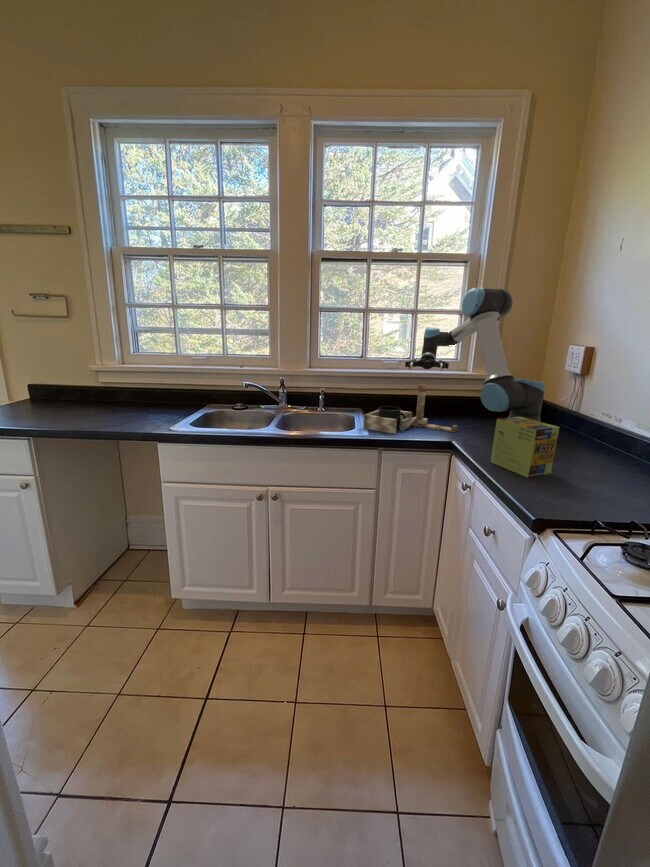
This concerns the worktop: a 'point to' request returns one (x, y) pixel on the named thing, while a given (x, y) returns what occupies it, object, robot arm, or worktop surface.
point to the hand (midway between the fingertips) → (425, 367)
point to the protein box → (524, 446)
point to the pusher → (420, 410)
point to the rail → (438, 427)
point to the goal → (383, 422)
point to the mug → (391, 413)
